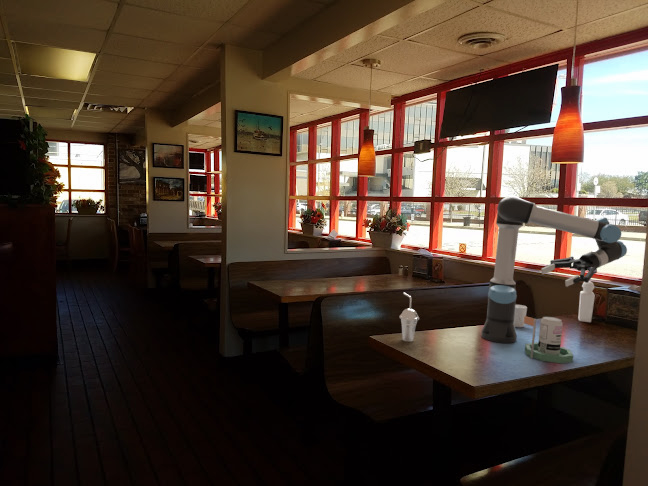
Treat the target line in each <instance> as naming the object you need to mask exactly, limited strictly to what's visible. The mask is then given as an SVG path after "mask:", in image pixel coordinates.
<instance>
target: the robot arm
mask: <svg viewBox="0 0 648 486" xmlns="http://www.w3.org/2000/svg"><path fill="white" fill-rule="evenodd" d="M496 213H497V215H496V222H495V225H497V227H498V236H497V244H496V251H495V253H496V254H495V263H494V272H493V277H492V278H491V279H490V280H489V287H488V288H489V289H488V293H487V309H486V310H487V311H486V312H487V313H486V320H485V322H484V325H483V327H482V329H481V333H480V336H481V338H483V339H485V340H488V341H491V342H495V343H502V344H512V343H516V342H517V338H518V337H517V331H516V327H514V315H515V305H517V303H516V301H517V297H518V295H517V290H516V284H517V283H516V281H515V280H514V271H515V264H516V255H517V247H518V246H517V245H518V239H519V238H518V237H519V229H520V228H522V227H523V224H526V225H529V224H531V223H532V224H535V225H538V226H543V227H547V228H551V229H554V230H559V231H562V232H567V233H570V234H575V235H579V236H582V237H586V238H589V239H593V240H595V242H596V246H597V247H598V248H596V249H594V250H591V251H589V252H587V253H584V254H582V255H580V257H579V258H577V259H576V258H575V259H574V256H569V257H565V258H558V259H551V260H550V263H549V264H547V265H546V266H545V267H542V268H541V270H540V271H541V275H545V274H548V273H550V272H552V271H555V269H564V268H565V269H566V268H567V269H568V268H569V269H574V270H577V271H578V272H580V273H579V275H578V274H576V275H574V276H572V277H570V278H567V279H566V280H564V281H565V282H564V284H565V287H566V288H568V287H569V286H572V285H573V284H579V283H580V282H586V283H588V282H589V281H591V279H592V277H593V276H594V275H595V274H596V273H598V268H601V267H603V266H606V265H607V264H610V263H612V262H614V261H618V260H619V259H621V258H623V257H624V256H626V255H627V253H628V248H627V245H625V244H624V242H622V241H621V240H620V239H621V238H622V230H621V229H620V227H619V226H617V225H615V224H613V223H610V221H609V220H608V217H600V218H596V219H591V218H586V217H582V216H578V215H574V214H571V213H567V212H563V211H558V210H554V209H550V208H546V207H543V206H539V205H536V203H535V202H531V201H528V200H526V199H522V198H520V197H518V196H516V195H510V196H509V195H508V196H505V197H503V198H502V199H500V200H499V202H498V203H497V211H496ZM586 272H587V273H586Z"/></svg>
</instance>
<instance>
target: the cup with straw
mask: <svg viewBox="0 0 648 486" xmlns="http://www.w3.org/2000/svg"><path fill="white" fill-rule="evenodd" d="M403 295H404V296H406V297H408V298H409V308H405V309H404V310H403V311H402V313H401V314H400V315H399V319H400V322H401V335H402V336H401V337H402V341H404V342H413V341H414V338H415V332H416V326H417V323H418V321H419V320H420V317H419V315H418V313H417V311H416V310H415V309H413V308H412V296H411V295H409V294H407V293H406V292H403Z"/></svg>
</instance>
